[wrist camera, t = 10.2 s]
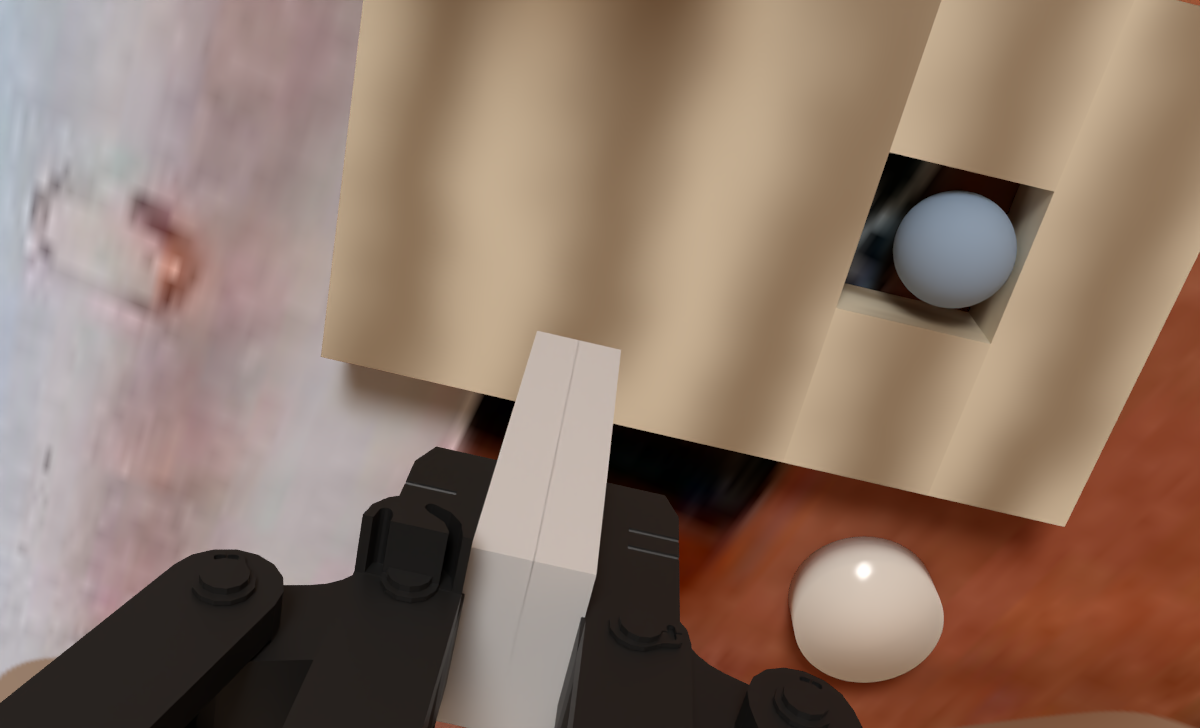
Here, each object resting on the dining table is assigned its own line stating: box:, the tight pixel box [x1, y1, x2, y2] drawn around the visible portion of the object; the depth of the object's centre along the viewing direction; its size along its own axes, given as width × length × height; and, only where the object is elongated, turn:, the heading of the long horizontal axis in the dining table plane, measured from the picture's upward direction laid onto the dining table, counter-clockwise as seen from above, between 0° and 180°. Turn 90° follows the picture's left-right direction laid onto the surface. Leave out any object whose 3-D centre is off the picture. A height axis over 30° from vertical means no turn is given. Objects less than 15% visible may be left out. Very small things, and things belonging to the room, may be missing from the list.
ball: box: [893, 190, 1017, 308], centre depth 36 cm, size 4×4×4 cm
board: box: [321, 0, 1200, 527], centre depth 36 cm, size 28×18×3 cm, turn 78°
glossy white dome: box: [788, 537, 944, 683], centre depth 43 cm, size 6×6×2 cm
